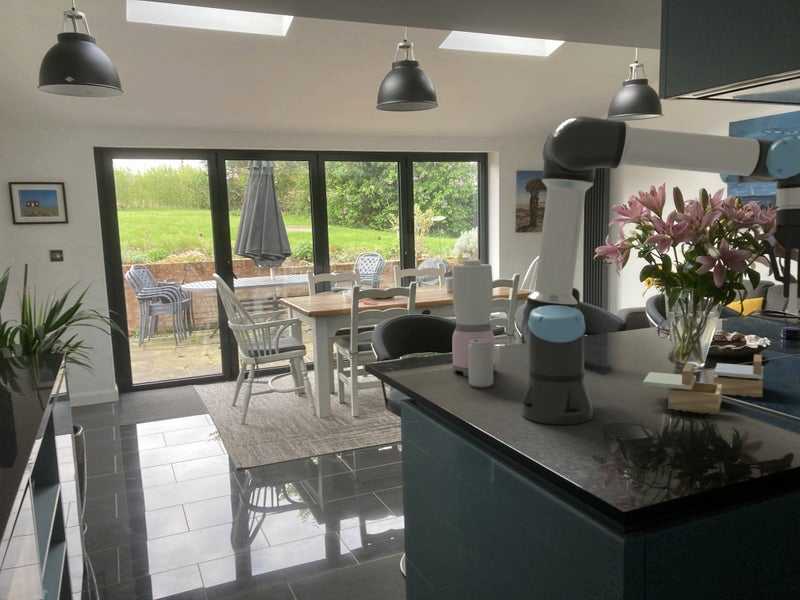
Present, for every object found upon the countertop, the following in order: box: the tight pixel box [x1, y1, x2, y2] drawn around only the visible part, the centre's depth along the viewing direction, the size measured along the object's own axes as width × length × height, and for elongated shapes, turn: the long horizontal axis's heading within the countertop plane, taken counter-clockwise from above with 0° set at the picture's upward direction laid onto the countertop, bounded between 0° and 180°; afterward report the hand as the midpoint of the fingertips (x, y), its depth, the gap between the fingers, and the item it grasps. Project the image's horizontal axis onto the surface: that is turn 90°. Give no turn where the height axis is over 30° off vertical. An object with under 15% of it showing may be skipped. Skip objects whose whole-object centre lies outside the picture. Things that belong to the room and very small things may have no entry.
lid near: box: [642, 362, 697, 389], centre depth 144 cm, size 10×10×4 cm
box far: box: [713, 375, 764, 398], centre depth 151 cm, size 10×10×4 cm
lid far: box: [713, 353, 764, 380], centre depth 151 cm, size 10×10×4 cm
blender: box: [451, 259, 496, 377], centre depth 181 cm, size 16×12×32 cm
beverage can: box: [468, 339, 494, 389], centre depth 165 cm, size 6×6×12 cm
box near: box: [667, 381, 723, 415], centre depth 141 cm, size 10×10×4 cm
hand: (792, 312), depth 143 cm, fingers closed
